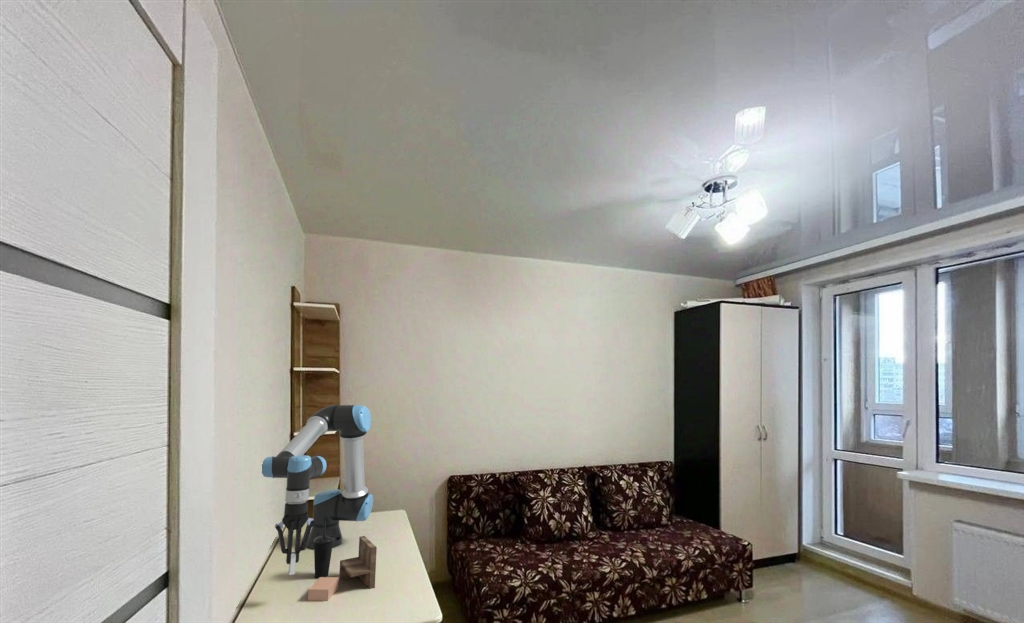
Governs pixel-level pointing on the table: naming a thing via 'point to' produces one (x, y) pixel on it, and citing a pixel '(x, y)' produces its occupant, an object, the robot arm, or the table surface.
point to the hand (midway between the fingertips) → (291, 572)
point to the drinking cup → (322, 554)
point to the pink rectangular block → (323, 589)
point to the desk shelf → (361, 564)
